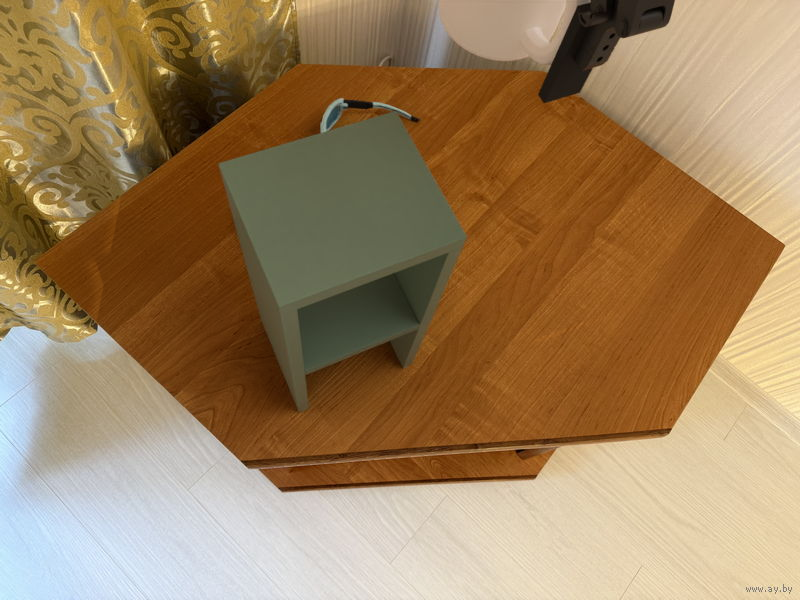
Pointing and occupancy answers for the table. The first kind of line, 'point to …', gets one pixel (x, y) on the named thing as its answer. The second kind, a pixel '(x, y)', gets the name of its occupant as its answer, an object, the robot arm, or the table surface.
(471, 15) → the mug
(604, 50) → the robot arm
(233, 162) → the shelf
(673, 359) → the table surface
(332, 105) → the sunglasses
